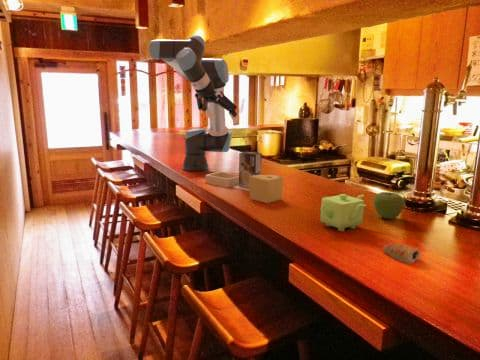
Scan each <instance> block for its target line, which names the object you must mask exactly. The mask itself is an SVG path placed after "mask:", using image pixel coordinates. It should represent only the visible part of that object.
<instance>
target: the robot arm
mask: <svg viewBox="0 0 480 360" xmlns="http://www.w3.org/2000/svg"><path fill="white" fill-rule="evenodd" d="M205 49H206V41H205V40H204V39H203V37H201V35H197V34H192V35H190V36H189V37H188V38H187V39H153V40H152V39H151V40H150V42H149V44H148V53H149V56H150V58H151V59H152V60H157V61H158V60H162V61H163V62H165V63H166V64H168V65H169V66H170V67H171V68H172V69H174V70H175V72H176V74H177V75H178V76H179V77H180V78H183V79H185V80H188V81H189V83H190V84H191V86H192V89H194V91H195V94H194V98H196V105H197V109H198V110H199V111H202V112H203V113H205V115H206V116H207V118H208V119H209V128H208V130H206V128H194V129H188V130H186V131H185V136H184V139H185V142H184V143H185V144H184V145H185V146H184V147H185V148H184V149H185V155H184V159H183V163H182V166H181V167H182V170H184V171H188V172H202V171H207V170H208V169H209V163H208V159H207V157H206V152H211V153H228V152H229V151H230V148H231V144H232V142H231V141H232V132H231V131H229V128H228V126H227V125H226V114H225V113H226V111H227V112H228V115H229V116H230V117H231V119H232V121H233V122H234V124H237V123H238V122H239V120H240V118H239V116H238V113H237V111H236V110H237V109H238V107H237V105H236V104H235V103H234V102H232V100H231V99H230V98H228V97H227V96H226V95H225V93H224V88H225V87H226V86H227V83H228V82H229V80H230V79H229V78H230V77H229V73H230V72H229V68H228V64H227V61H226V60H225V59H224V58H217V57H215V58H211V57H210V58H208V57H207V58H206V57H203V56H204V53H205ZM225 110H226V111H225Z"/></svg>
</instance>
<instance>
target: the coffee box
mask: <svg viewBox="0 0 480 360" xmlns="http://www.w3.org/2000/svg"><path fill="white" fill-rule="evenodd" d="M262 155H263V154H262V153H261V152H254V151H242V152H239V155H238V175H239V187H247V188H249V179H250V176H253V175H262Z"/></svg>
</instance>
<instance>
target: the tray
mask: <svg viewBox="0 0 480 360" xmlns="http://www.w3.org/2000/svg"><path fill="white" fill-rule="evenodd" d="M204 180H205V181H204V182H205V184H211V185H214V186H219V187H224V188H231V187H232V188H233V187H234V186H238V185H239V174H237V173H236V174H235V173H231V172H225V171H217V172H212V173H209V174H205V179H204Z"/></svg>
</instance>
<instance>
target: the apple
mask: <svg viewBox="0 0 480 360" xmlns="http://www.w3.org/2000/svg"><path fill="white" fill-rule="evenodd" d="M372 200H373V201H372V202H373V206H374V208H375V211H376V213H377V215H379V216H380V217H381V218H383V219H384V220H385V219H386V220H394V219H396V218H397V217H399V216H400V214H401V213H402V211H403V210H404V208H405V206H406V204H407V203H406V200H405V198H404V197H403V196H402V195H399V193H397V192H396V193H395V192H391V191H390V192H388V191H387V192H385V191H380V192H379V193H377V194H375V196H374V198H373V199H372Z"/></svg>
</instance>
